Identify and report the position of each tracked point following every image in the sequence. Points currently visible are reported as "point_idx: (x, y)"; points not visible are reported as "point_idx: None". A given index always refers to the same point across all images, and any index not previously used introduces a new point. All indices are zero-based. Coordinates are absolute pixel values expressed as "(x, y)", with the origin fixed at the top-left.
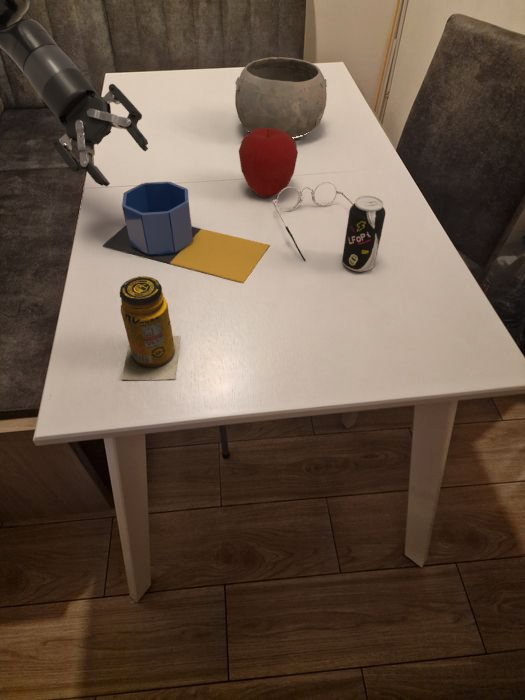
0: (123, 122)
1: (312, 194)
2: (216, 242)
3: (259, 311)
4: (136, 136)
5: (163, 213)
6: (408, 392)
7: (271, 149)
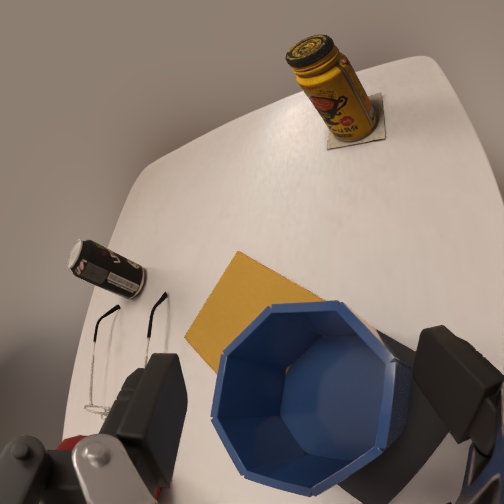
0: (112, 467)
1: (106, 413)
2: None
3: (238, 202)
4: (141, 384)
5: (282, 303)
6: (186, 145)
7: (71, 446)
